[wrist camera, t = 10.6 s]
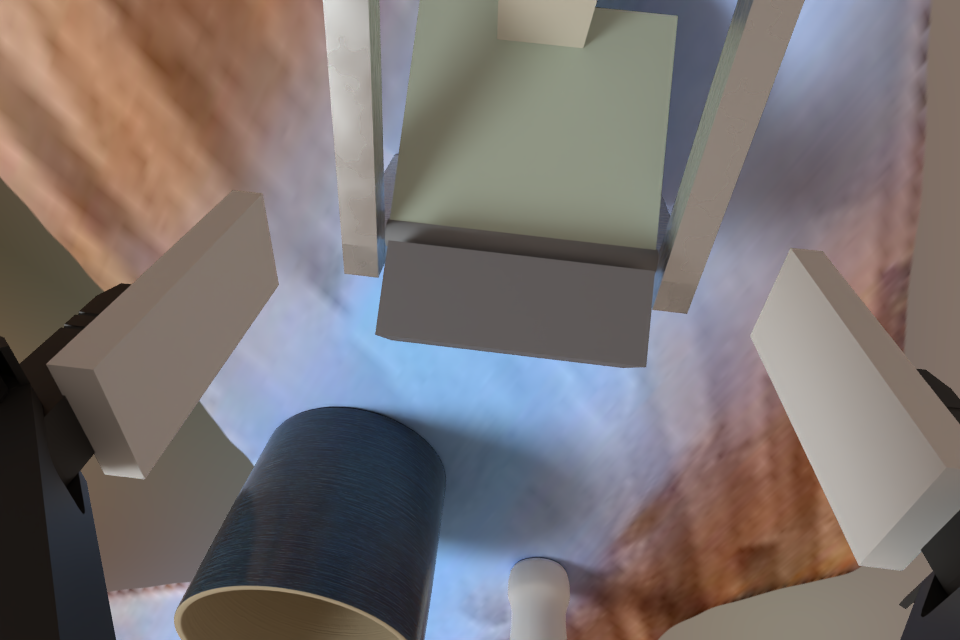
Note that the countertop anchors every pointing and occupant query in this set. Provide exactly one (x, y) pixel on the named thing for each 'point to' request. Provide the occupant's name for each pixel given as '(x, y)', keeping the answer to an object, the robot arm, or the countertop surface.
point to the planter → (325, 537)
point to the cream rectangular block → (545, 21)
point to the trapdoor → (529, 187)
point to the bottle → (538, 600)
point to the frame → (698, 206)
